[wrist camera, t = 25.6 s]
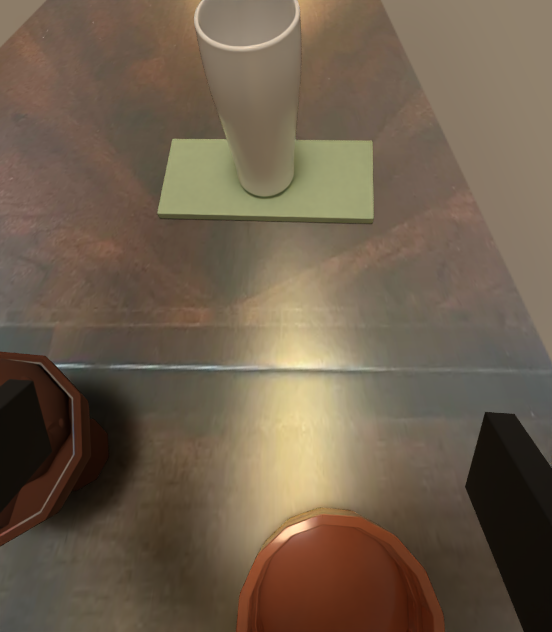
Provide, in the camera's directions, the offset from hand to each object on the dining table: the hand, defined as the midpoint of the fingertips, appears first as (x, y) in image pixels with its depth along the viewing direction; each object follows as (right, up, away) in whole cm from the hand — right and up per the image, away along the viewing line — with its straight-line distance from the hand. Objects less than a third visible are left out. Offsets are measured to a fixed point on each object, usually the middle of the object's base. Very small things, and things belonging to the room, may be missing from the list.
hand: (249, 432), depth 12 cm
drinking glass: (0, +17, +27) cm, 32 cm away
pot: (+5, -15, +15) cm, 22 cm away
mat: (0, +17, +28) cm, 32 cm away
